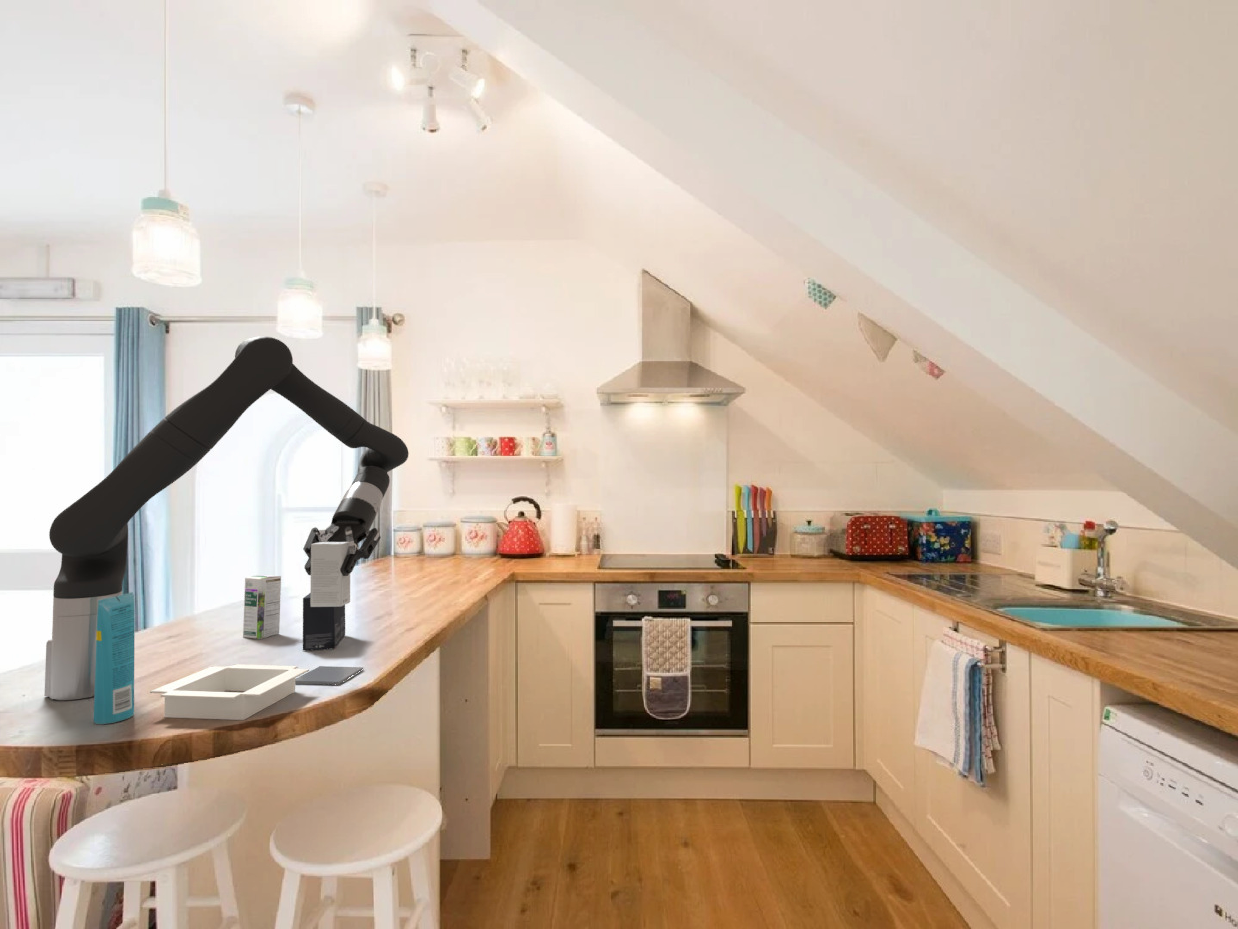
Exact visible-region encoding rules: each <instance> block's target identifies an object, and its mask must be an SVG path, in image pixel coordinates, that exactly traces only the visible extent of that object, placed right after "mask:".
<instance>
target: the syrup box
mask: <svg viewBox="0 0 1238 929" xmlns="http://www.w3.org/2000/svg"><path fill="white" fill-rule="evenodd" d="M281 586H282V575H269V574H266V575H265V574H256V575H250V576H247V577H245V578H244V595H243V596H244V598H243V599H244V600H243V625H242V626H243V627H242V628H243V629H242V637H243V638H247V639H248V638H250V639H256V638H257V639H258V640H261V638H262V639H265V638H269V637H273V636H275V635H280V621H281V620H280V619H281V617H280V616H281V591H282V587H281ZM257 639H256V640H257Z"/></svg>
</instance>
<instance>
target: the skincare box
mask: <svg viewBox="0 0 1238 929" xmlns="http://www.w3.org/2000/svg"><path fill="white" fill-rule="evenodd" d="M349 554H350V553H349V542H319V543H314V544H311V575H310V593H311V595H310V606H311V607H339V606H343V605H345V606H346V605H347V604H350V603H351V573H349V575H348V576H343V575H342V573H341V571H340V568H341V566H342V564H343V562H344V560H345V558H346V556H347V555H349Z"/></svg>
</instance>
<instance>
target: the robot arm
mask: <svg viewBox="0 0 1238 929" xmlns="http://www.w3.org/2000/svg"><path fill="white" fill-rule="evenodd" d="M293 360H294V359H293V353H292V352H291V349H290V348H289V346H287V344H285V342H283V341H281V340H280V339H278V338H275V337H272V336H271V337H270V336H264V335H262V336H253V337H250V338H247V339H245V340H243V341H242V342H241V343H239V344H238V345H237V348H236V350H235V354H234V359H233V360H232V362H231V363H229V365H228V366H227V367H226V368H225V369H224V370H223V371H222V373H221V374H219V376H217V378H216V379H215V380H213V382H211V383H210V384H209V385H208V386H206V387H205V388H203V389H202V390H200V391H198V392H197V393H196V394H194V395H192V396H191V397H189V398H188V399H186V400H185V401H184V402H182V403H181V404H180V405H178V406H177V407H176V408H174V409H172V410H171V412H169V413H168V414H167V415H166V416H165V417H164V418H163V419H162V420H160V421H159V422H158V423H157V424H155V426H154V427H152V429H151V430H150V431H149V432H148V433H147V434H145V436H144V437H142V439H141V440H140V441H139V442H138V443H137V444H136V445H135V446H134V447H133V448H132V450H130V452H128V453H127V455H126V456H125V457H123V458H122V460H121V461H120V462H119V463H118V464H117V465H116V466H115V468H114V469H113V470H112V471H110V473H109V474H108V475H107V476H106V477H105V478H104V479H103V480H101V481H100V482H99V483H97V484H96V485H95V486H94V487H93V488H91V489H90V490H89V491H87V492H86V493H85V494H83V495H82V496H81V497H80V498H78V499H77V500H76V501H74V502H73V503H72V504H70V505H69V506H67V507H66V508H65V509H64V510H62V511H61V512H60V513H59V514H58V515H57V516H56V517H55V518H54V520H53V521H52V523H51V526H50V528H49V532H48V533H49V534H48V535H49V541H50V542H49V543H51V546H52V548H54V550H56V551H57V552H58V553H60V554H61V561H60V562H61V565H60V569H59V572H58V575H57V577H56V579H55V581H54V583H53V594H52V595H53V598H52V599H53V601H52V604H53V605H52V630H51V632H52V633H51V639H48V640H47V642H46V645H45V672H44V674H45V676H44V697H49V699H50V700H53V699H58V700H57V701H71V700H72V701H73V700H79V699H86V698H92V697H95V668H96V632H97V613H98V600H102V599H106V598H111V597H116V596H120V595H123V582H124V577H125V574H126V571H127V560H128V558H127V557H128V545H129V544H128V541H129V527H128V523H129V522H130V520H132V518H133V517H134V516H135V515H136V513H138V512H139V510H140V509H141V508H142V507H143V506H144V505H145V504H146V503H147V502H149V501H150V500H151V499H152V498H153V497H155V496H156V495H158V494H159V493H160V492H162V491H164V489H166V488H168V487H169V486H170V485H172V484H174V483H175V482H176V481H177V480H179V479H180V478H181V477H183V476H184V475H185V474H186V473H187V472H189V471H190V470H191V469H193V467H195V466H196V465H197V464H198V463H199V462H200V461H201V460H202V459H203V458H204V457H205V456H206V455H207V454H208V453H209V452H210V451H211V450H212V449H213V448H214V447H215V446H216V445H217V444H218V443H219V441H221V440H222V438H223V437H224V436H225V435H226V434H227V433H228V432H229V430H231V429H232V428H233V426H234V425H235V424H236V423H237V421H238V420H239V419H240V418H241V417H242V415H243V414H244V413H245V412H246V411H247V410H248V409H249V408H250V407H251V406H252V405H253V404H254V403H255V402H257V401H258V400H259V399H260V398H262V396H264V395H265V394H266V393H267V392H269V391H270V390H271V391H273V392H275V393H276V394H278V395H280V396H281V397H283V399H286V400H287V401H289V402H290V403H291V404H293V405H294V406H296V407H297V408H298V409H300V410H301V411H302V412H303V413H305V414H306V415H307V416H308V417H310V418H311V420H313V421H314V422H315V423H317V424H318V425H319V426H320V427H321V428H323V429H324V430H325V431H326V432H328V434H330V435H332V436H333V437H334V438H335V439H337V440H338V441H339V442H341V443H342V444H344V445H345V446H346V447H348V448H350V449H358V448H366V449H365V450H364V451H363V453H362V454H361V456H360V459H359V463H358V467H357V474H356V475H355V477H354V479H353V481H352V483H351V485H350V486H349V488H348V489H347V490H346V491H345V493H344V494H343V497H342V499H341V500H340V503H339V504H338V506H337V508H336V509H335V512H334V513H333V516H332V518H331V523H330V525H329V526H327V527H326V528H325V529H318V527H312V528H311V530H310V532H309V535H308V537H307V539H306V541H305V544H304V547H302V548H303V551H304V553H305V554H306V556H307V558H308V559H307V561H306V562H305V564H304V569H305V572H306V573H307V575H308V576H311V544H314V543H319V542H349V553H350V554H349V555H347V556H346V558H345V560H344V562H343V564H342V566H341V568H340V571H341V573H342V575H343V576H348V575H349V573H350V574H352V572H353V570H354V568H355V566H356V564H357V562H359V561H360V560H361V559H365V560H368V559H370V557H371V555H372V554H373V552H374V550H375V548H376V547H377V545H378V543H379V542H380V540H381V535H380V532H379V531H378V529H377V528H376V527H373V526H372V525H373V523H374V521H375V519H376V516H377V515H378V513H379V511H380V507H381V505H382V502H383V500H384V497H385V495H386V493H387V491H388V488H389V486H390V480H391V479H390V476H389V474H388V472H390V471H393V470H394V469H396V468H398V467H400V466H401V465H404V464H405V462H406V461H407V460H408V458H409V454H410V452H409V449H408V447H407V444H406V443H405V442H404V441H403V439H402V438H400V437H399V436H397V435H396V434H394V433H392V432H391V431H389V430H387V429H384V428H382V427H380V426H378V425H375V424H373V423H371V422H369V421H368V420H367V419H366V418H364V417H363V416H362V415H360V414H359V413H358V412H357V411H356V410H354V409H353V408H352V407H350V405H348V404H347V403H345V402H343V401H342V400H340V398H338V397H336V396H334V395H333V394H331V393H330V392H329V391H327V390H325V389H324V388H322V387H321V386H319V384H316V383H315V382H314V381H313V380H312V379H310V378H309V377H307V376H306V375H305V374H304V372H302V371H301V370H300V369H299V368H298V367H297V366H296V365H295V364H294V363H293V362H294V361H293ZM372 527H373V528H372ZM363 540H364V541H363ZM362 541H363V543H362V544H361V546H360V547H359V543H361V542H362Z"/></svg>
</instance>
